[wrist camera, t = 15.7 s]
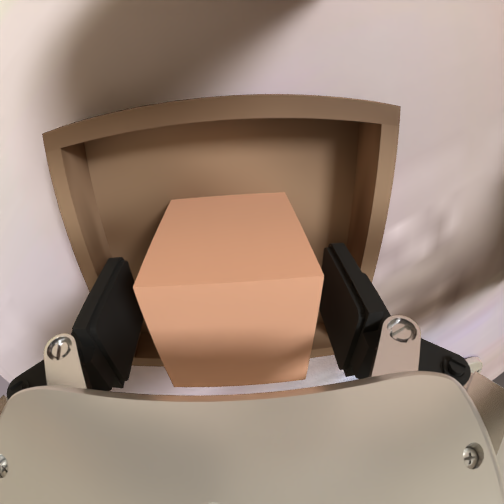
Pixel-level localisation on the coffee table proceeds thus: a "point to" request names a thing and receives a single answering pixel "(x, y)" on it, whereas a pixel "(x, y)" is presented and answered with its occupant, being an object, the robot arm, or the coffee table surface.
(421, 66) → the coffee table surface
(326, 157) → the walnut tray
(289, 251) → the terracotta block
